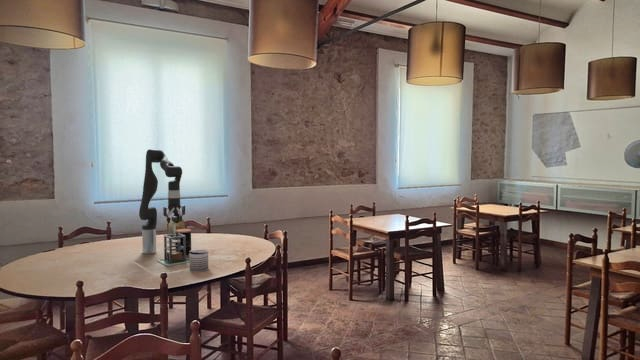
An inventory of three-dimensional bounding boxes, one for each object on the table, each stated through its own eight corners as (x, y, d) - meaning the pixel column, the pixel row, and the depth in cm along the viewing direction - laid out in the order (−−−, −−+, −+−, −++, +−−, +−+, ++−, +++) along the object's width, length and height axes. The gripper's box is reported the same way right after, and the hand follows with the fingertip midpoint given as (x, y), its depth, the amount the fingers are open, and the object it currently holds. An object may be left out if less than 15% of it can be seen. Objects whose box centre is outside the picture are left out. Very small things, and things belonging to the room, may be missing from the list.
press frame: (163, 260, 285) (163, 235, 284) (180, 258, 292) (179, 233, 291) (169, 264, 277) (169, 237, 276) (186, 261, 284) (186, 235, 283)
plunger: (167, 241, 284) (167, 216, 283) (177, 240, 288) (177, 215, 287) (171, 243, 279) (171, 218, 278) (181, 241, 283) (181, 217, 282)
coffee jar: (186, 257, 298) (186, 231, 297) (172, 256, 300) (172, 231, 299) (194, 254, 309) (193, 229, 308) (180, 253, 311) (180, 228, 310)
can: (185, 269, 269) (185, 250, 268) (201, 265, 278) (201, 247, 277) (196, 273, 262) (196, 253, 261) (212, 269, 271) (212, 250, 270)
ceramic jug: (170, 238, 363) (169, 202, 361) (188, 237, 365) (188, 202, 363) (165, 242, 346) (164, 205, 344) (184, 242, 348) (184, 205, 346)
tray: (157, 262, 285) (157, 259, 285) (183, 258, 297) (183, 255, 296) (165, 267, 273) (165, 264, 273) (193, 263, 284) (193, 260, 284)
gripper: (182, 195, 289) (183, 220, 290) (161, 197, 280) (161, 222, 281) (187, 196, 283) (187, 221, 284) (165, 198, 274) (165, 224, 275)
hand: (174, 222), depth 283 cm, fingers open, 7 cm apart
